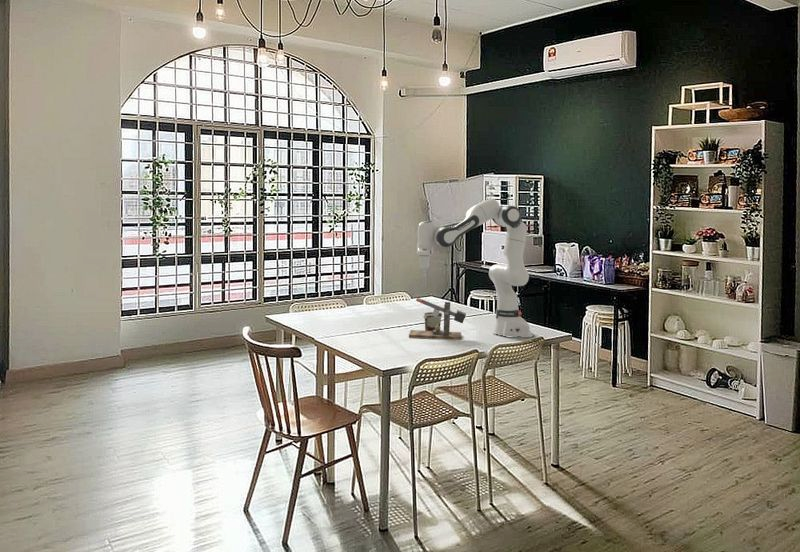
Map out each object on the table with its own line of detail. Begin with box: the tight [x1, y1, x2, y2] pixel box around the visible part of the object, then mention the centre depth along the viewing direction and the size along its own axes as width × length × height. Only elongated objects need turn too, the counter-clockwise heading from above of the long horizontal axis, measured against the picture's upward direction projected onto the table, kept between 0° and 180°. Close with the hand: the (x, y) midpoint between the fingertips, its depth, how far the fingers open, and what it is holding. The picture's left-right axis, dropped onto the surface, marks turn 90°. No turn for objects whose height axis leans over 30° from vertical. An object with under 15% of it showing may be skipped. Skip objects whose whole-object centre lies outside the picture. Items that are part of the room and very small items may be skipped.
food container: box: [423, 311, 443, 331], centre depth 395 cm, size 12×6×10 cm, turn 130°
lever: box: [415, 297, 467, 324], centre depth 379 cm, size 28×5×7 cm, turn 86°
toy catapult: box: [408, 301, 462, 341], centre depth 380 cm, size 28×12×18 cm, turn 84°
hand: (424, 276), depth 377 cm, fingers open, 2 cm apart
